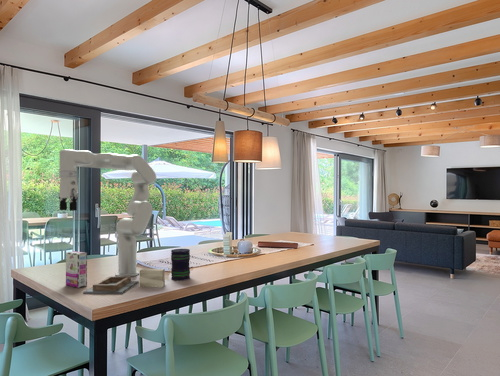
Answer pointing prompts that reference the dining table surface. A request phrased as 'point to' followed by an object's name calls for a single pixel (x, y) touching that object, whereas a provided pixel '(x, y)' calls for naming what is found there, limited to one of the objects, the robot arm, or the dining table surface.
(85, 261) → the candy bar box
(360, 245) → the dining table surface
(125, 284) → the slot board
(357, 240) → the dining table surface
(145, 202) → the robot arm
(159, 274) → the ash block
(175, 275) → the storage jar
